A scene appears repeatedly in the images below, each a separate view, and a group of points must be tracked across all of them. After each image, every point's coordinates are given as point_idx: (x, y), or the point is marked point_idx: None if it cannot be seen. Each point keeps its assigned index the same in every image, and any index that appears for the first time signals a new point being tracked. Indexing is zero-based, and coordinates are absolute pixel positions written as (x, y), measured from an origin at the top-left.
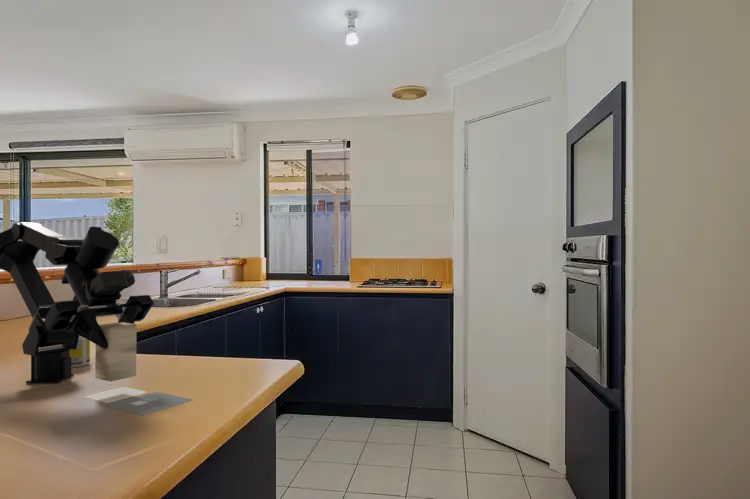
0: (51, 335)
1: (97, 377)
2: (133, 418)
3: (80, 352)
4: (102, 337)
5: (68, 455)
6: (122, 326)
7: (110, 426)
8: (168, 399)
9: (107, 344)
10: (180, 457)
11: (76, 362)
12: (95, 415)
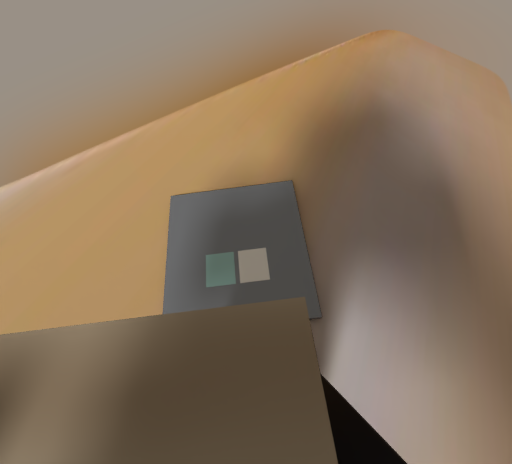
0: None
1: None
2: (306, 190)
3: None
4: (344, 414)
5: (435, 117)
6: (172, 314)
7: (355, 180)
8: (197, 236)
9: None
10: (325, 50)
11: None
12: (359, 267)
